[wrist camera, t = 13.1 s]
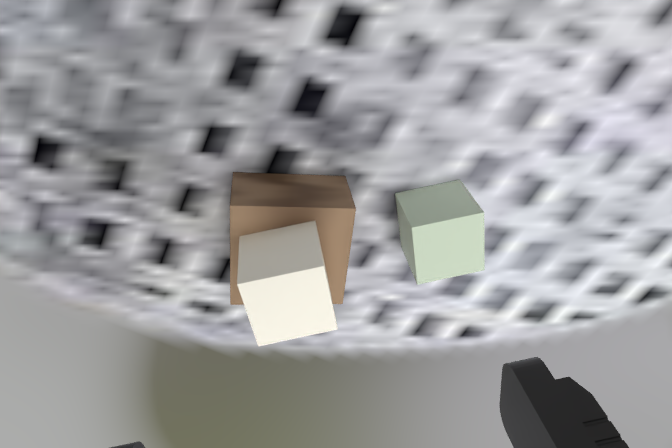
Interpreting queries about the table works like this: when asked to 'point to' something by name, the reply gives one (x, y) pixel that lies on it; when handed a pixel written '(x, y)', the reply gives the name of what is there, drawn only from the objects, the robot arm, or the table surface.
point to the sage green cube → (441, 231)
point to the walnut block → (294, 217)
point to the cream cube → (285, 283)
